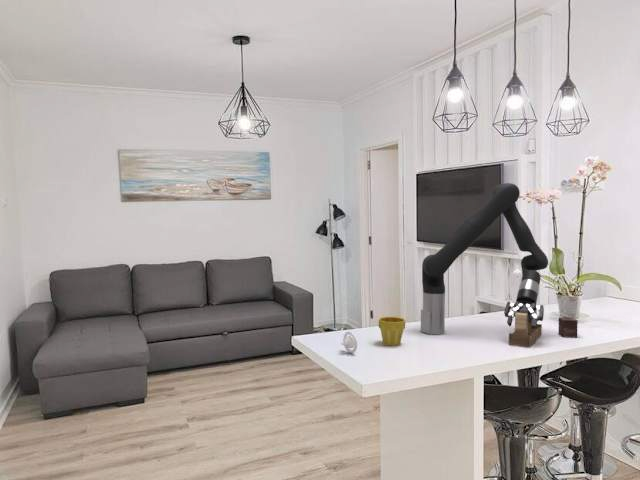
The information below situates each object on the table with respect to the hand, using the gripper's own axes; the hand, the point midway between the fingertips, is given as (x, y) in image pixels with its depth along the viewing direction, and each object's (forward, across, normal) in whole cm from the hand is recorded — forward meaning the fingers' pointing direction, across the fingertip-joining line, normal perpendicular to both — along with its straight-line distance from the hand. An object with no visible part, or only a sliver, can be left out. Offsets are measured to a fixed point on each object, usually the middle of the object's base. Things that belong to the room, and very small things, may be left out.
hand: (520, 326), depth 199 cm
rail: (-2, 0, +12) cm, 12 cm away
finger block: (+3, 0, +5) cm, 6 cm away
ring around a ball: (+39, -50, -28) cm, 69 cm away
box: (-13, +13, +24) cm, 30 cm away
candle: (-36, -15, +46) cm, 60 cm away
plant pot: (+24, -42, -13) cm, 50 cm away
